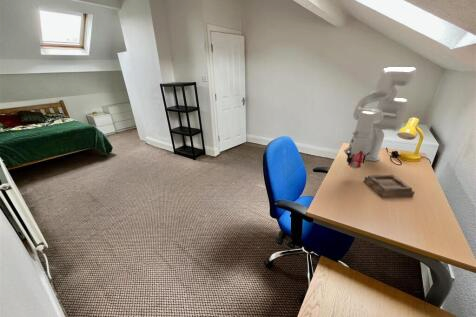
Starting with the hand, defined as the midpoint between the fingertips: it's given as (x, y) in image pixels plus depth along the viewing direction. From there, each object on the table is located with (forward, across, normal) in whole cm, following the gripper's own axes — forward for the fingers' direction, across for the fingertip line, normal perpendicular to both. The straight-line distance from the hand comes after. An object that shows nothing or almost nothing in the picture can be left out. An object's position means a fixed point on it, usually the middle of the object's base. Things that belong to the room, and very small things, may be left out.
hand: (355, 162), depth 118 cm
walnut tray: (+10, +12, -14) cm, 21 cm away
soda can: (+3, 0, 0) cm, 3 cm away
